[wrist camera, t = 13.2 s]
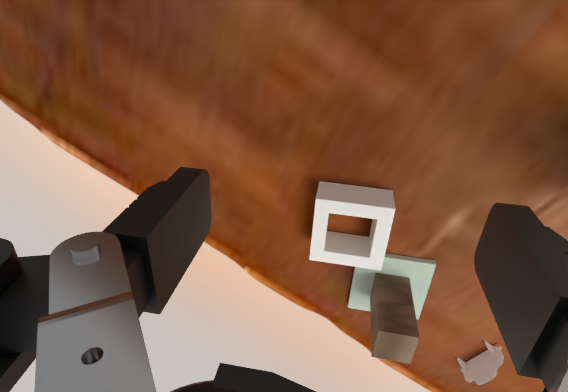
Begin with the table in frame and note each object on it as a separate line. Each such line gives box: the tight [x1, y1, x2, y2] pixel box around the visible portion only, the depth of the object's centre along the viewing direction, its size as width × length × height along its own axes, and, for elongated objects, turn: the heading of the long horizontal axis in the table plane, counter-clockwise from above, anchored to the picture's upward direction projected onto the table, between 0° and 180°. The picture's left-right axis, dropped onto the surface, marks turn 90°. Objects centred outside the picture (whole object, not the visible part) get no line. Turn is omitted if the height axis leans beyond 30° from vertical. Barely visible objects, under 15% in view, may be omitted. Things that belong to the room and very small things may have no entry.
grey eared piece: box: [457, 341, 504, 385], centre depth 47 cm, size 15×7×4 cm, turn 146°
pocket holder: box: [309, 181, 395, 271], centre depth 42 cm, size 8×8×4 cm
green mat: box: [348, 253, 436, 319], centre depth 47 cm, size 9×9×1 cm
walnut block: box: [370, 272, 419, 364], centre depth 43 cm, size 4×4×9 cm
